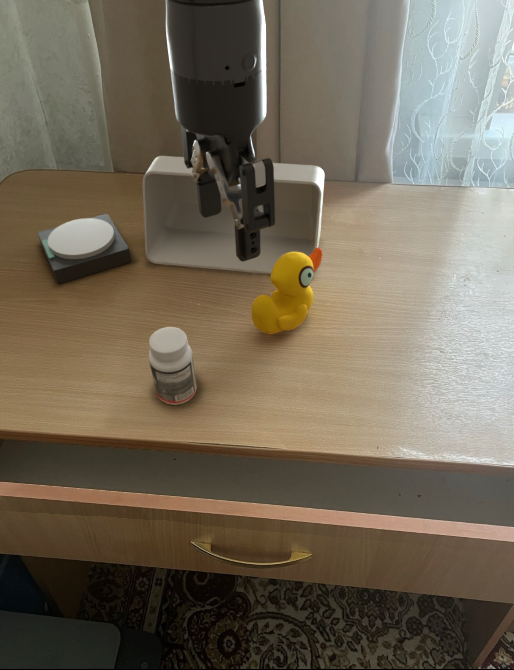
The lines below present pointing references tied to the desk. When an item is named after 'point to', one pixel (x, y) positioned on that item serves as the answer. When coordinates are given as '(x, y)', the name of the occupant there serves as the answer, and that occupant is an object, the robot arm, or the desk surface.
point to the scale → (84, 247)
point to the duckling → (287, 293)
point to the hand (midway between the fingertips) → (228, 234)
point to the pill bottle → (172, 365)
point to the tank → (227, 219)
